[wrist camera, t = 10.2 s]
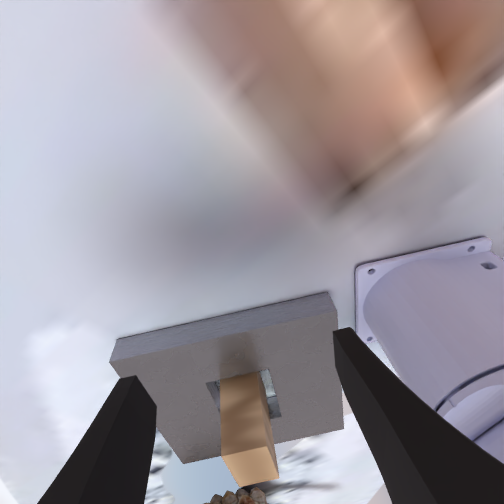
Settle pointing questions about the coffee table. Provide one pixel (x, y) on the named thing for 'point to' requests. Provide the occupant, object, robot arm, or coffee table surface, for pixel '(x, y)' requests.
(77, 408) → the coffee table surface
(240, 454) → the tan cardboard box
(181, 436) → the collar plate
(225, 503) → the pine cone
